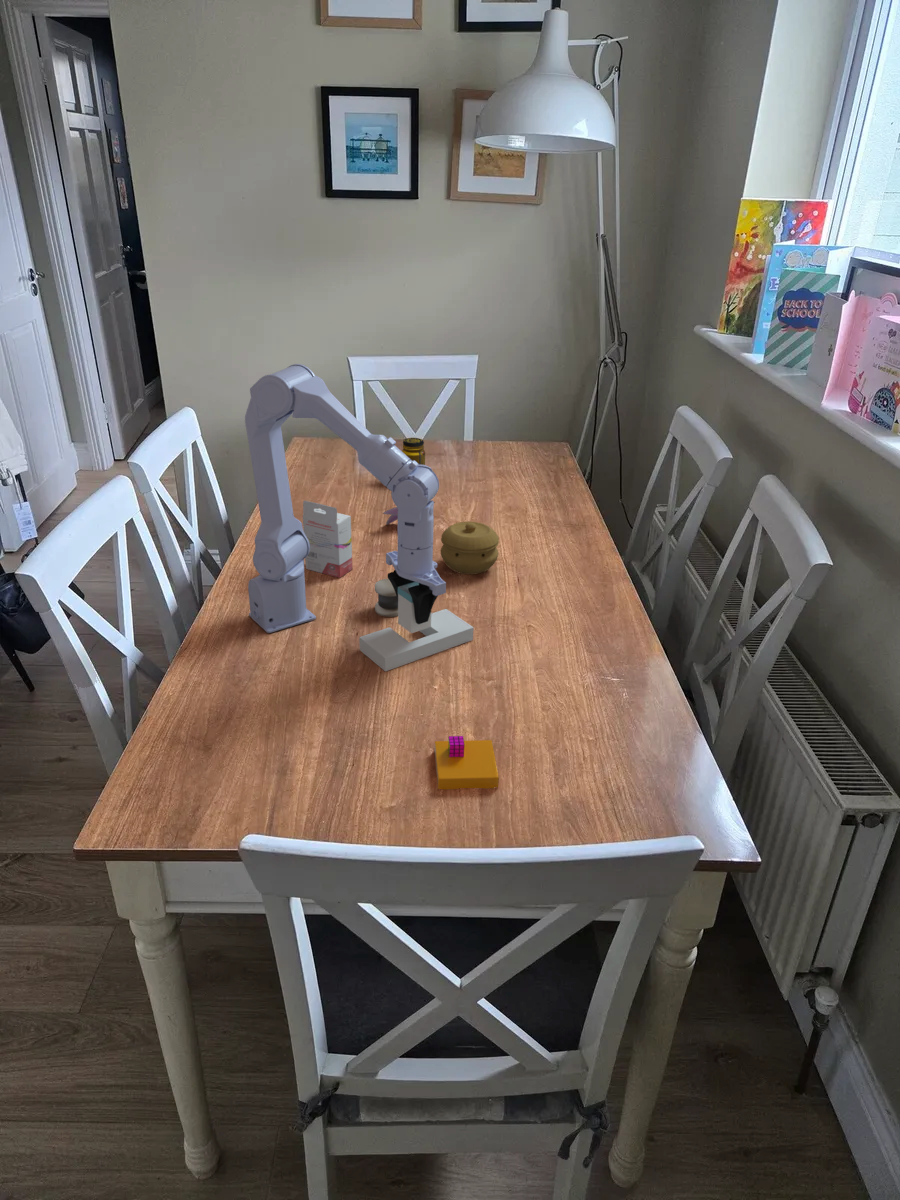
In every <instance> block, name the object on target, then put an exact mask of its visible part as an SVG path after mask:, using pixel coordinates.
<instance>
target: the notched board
mask: <svg viewBox="0 0 900 1200" xmlns="http://www.w3.org/2000/svg"><path fill="white" fill-rule="evenodd" d="M474 628H475V627H474V626H472V625H471V624H469V623H468V622H466V621H465V620H464V619H462V618H460V617H459V616H457V614H455V613H453V612H452V611H450V610H449V609H447V608H445V609H441V610H437V611H435V612H431V627H429V628H426V629H423V630H420V631H419V632H420V633H421V634H423V635H424V637H421V638H418V639H415V640H412V641H409V640H407V639H406V638H404V637H403V636H402V635H401V634H400V633H398V632H396V631H395V630H394V629H393V628H392V627H390V626H389V627H386V628H383V629H379V630H377V631H374V632H371V633H368V634H365V635H362V636H359V638H358V639H359V644H358V645H359V651H360V652H362V653H363V655H365V656H366V657H368V658H369V659H370V660H371V661H372V662H374V663H375V665H377V666H378V667H379V668H380V669H382V670H383V671H384V672H388V671H390V670H393V669H396V668H398V667H402V666H404V665H408V664H410V663H413V662H416V661H418V660H421V659H423V658H424V659H425V658H427V657H429V656H433V655H434V654H438V653H441V652H444V651H446V650H449V649H451V648H454V647H457V646H460V645H462V644H466V643H468V642H471V641H474Z"/></svg>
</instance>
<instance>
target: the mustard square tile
mask: <svg viewBox="0 0 900 1200" xmlns="http://www.w3.org/2000/svg"><path fill="white" fill-rule="evenodd" d="M433 751H434V759H435V760H434V761H435V762H434V763H435V771H436V772H435V773H436V782H437V783H436V784H438V785H437V790H438V789H443V790H460V789H459V788H483V789H495V788H494V787H497V788H496V789H498V788H499V784H500V775H499V771H498V770H499V769H498V766H497V760H496V755H495V750H494V745H493V740H491V739H482V740H479V739H477V740H475V739H474V740H470V739H469V740H465V739H464V735H449V736H448V739H447V740H435V741H434V750H433Z"/></svg>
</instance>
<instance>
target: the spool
mask: <svg viewBox="0 0 900 1200" xmlns="http://www.w3.org/2000/svg"><path fill="white" fill-rule="evenodd" d="M374 591H375V593H376V594H377V597H378V598H377V602H376V603H375V604H374V612H375V613H376V614H377V615H379V616H381V617H384V618H385V617H386V618H394V617H395V618H396V617H398V600H397V596H396V593H395V590H394V588H393V586H392V584H391V582H390V580H389V579H388V578H382V579H380V580H378V581H376V582H375V583H374Z"/></svg>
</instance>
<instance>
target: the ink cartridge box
mask: <svg viewBox="0 0 900 1200" xmlns="http://www.w3.org/2000/svg"><path fill="white" fill-rule="evenodd" d="M302 508H303V509H302V513H303V514H302V527H303V531H304V533H305V535H306V537H307V538H308V540H309V543H310V551H309V554H308V556H307V557H306V558H304V564H305V569H306V570H309V571H313V572H316V573H320V574H324V575H327V576H332V577H334V578H338V579H339V578H342V577H343V576H345V575H346V574H348V573H350V572H351V571H353V545H352V542H353V541H352V518H351V515H349V514H343V513H339V512H338V509H337V507H334V506H329V505H326V504H322V503H319V502H318V503H317V502H313V501H309V500H303V502H302Z"/></svg>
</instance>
